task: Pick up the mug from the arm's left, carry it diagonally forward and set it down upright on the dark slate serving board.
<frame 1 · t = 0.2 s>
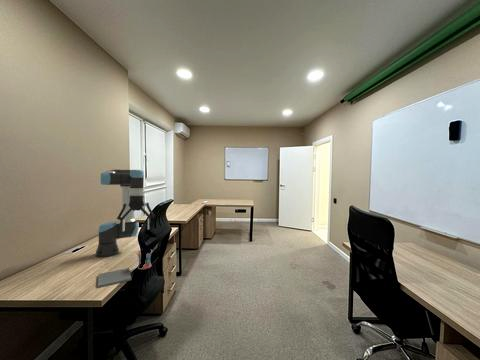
hand: (136, 230, 128), 27 cm above the table, fingers open, 13 cm apart
slate board: (114, 277, 123), on the table
mug: (145, 267, 139), on the table
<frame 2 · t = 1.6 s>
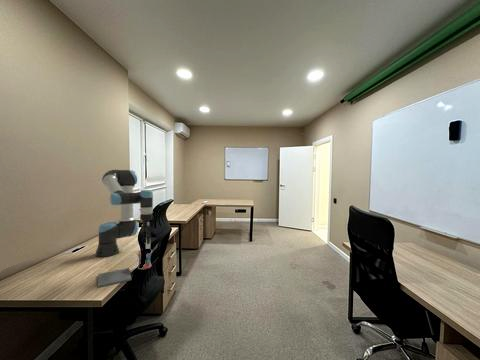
hand: (146, 245, 139), 14 cm above the table, fingers open, 13 cm apart
nothing on the table moved.
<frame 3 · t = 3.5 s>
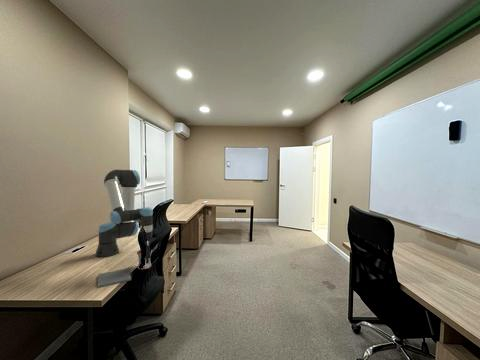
hand: (145, 265, 139), 1 cm above the table, fingers closed on mug, 8 cm apart
mug: (145, 266, 139), on the table, touching gripper
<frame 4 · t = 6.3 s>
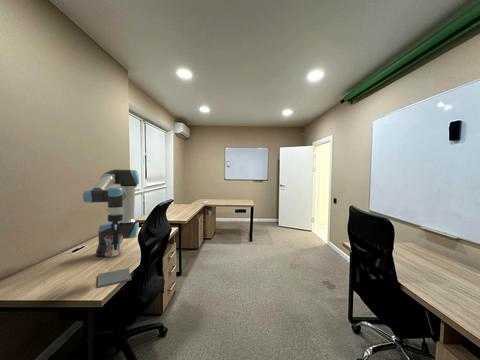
hand: (114, 252, 123), 15 cm above the table, fingers closed on mug, 8 cm apart
mug: (115, 254, 124), point 14 cm above the table, touching gripper
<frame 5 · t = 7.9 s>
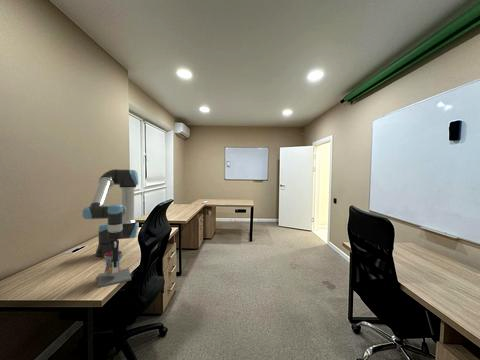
hand: (114, 269, 123), 5 cm above the table, fingers closed on mug, 8 cm apart
mug: (114, 271, 124), point 4 cm above the table, touching gripper
when the fingers open (3 cm above the table, at t = 9.1 s): mug drops 1 cm, resting on slate board.
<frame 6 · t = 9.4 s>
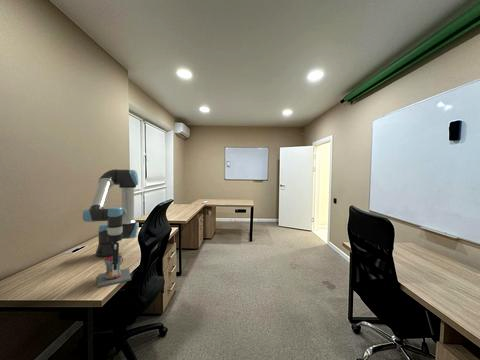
hand: (114, 270, 123), 4 cm above the table, fingers open, 11 cm apart
mug: (115, 275, 124), point 1 cm above the table, touching slate board
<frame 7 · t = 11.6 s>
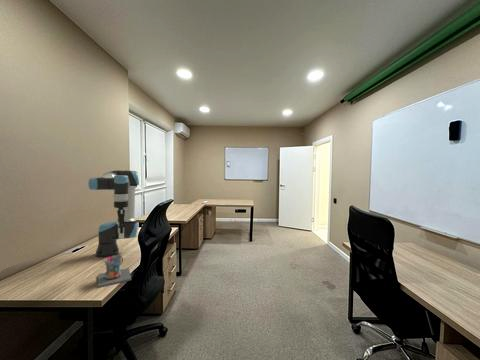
hand: (120, 235, 128), 24 cm above the table, fingers open, 13 cm apart
nothing on the table moved.
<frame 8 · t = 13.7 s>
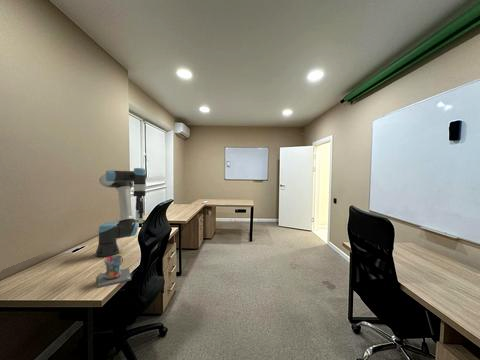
hand: (139, 221, 145), 29 cm above the table, fingers open, 13 cm apart
nothing on the table moved.
at the end: mug inside the target area on the slate board (0.9 cm from its centre), point 0.8 cm above the slate board's base; mug tilted 0°; the gripper is holding nothing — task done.
